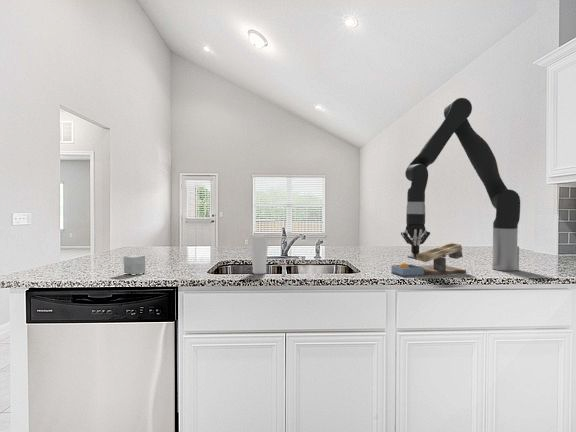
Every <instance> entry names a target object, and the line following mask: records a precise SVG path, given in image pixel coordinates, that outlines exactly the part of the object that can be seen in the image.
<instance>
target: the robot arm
mask: <svg viewBox="0 0 576 432" xmlns="http://www.w3.org/2000/svg"><path fill="white" fill-rule="evenodd" d="M472 111H473V106H472V103H471V101H470V100H469V99H468V98H466V97H458V98H456V99H453V100H452V101H450V102H449V103H448V104H447V105H446V106H445V107H444V110H443V116H444V119H443V121H442V123H441V124H440V126H439V127H437V129H436V130H435V132H434V133H433V134H432V135H431V136H430V137H429V139H428V140H427V141H426V142H425V144H424V145H423V146H422V149H421V150H420V152H419V153H418V154H417V155H416V156H415V158H414V159H412V161H411V162H410V163H409V165H408V166H407V168H406V170H405V173H404V175H405V178H406V180H407V181H409V182H410V183H411V184H410V187H409V188H408V189H407V192H406V193H407V197H406V198H407V200H406V201H407V202H406V219H405V220H406V222H405V223H406V227H405V230H403V231H401V232H400V235H401V236H402V238H403V239H404V241H405V243H406V244H408V245H411V246H410V247H411V248H410V249H411V252H410V253H412V254H414V255H416V254H418V253H420V245H424V243H426V241H427V239H428V238H429V236H430V235H431V232H430V231H428V230H427V229H426V226H425V225H426V189H427V186H428V185H427V184H428V180H429V170H428V167H429V166H430V165H433V164H434V162H435V161H436V160H437V158H439V156H440V154H441V152H442V151H443V149H444V148H445V146H446V145H447V144H448V142H449V140H450V139H451V137H452V136H453V134H455V135H456V137H457V139H458V140H459V143H460V145H461V147H462V149H463V150H464V152H465V155H466V156H467V158H468V160H469V162H470V164H471V166H472V167H473V169H474V170H475V173H476V174H477V176H478V177H479V179H480V180H481V182H482V184H483V186H484V187H485V191H486V192H487V195H488V197H489V200H490V203H491V205H492V206H493V208H494V210H495V209H496V210H495V211H496V212H495V219H494V220H493V222H492V223H493V224H492V269H493V270H497V271H504V272H505V271H506V272H508V271H510V272H513V271H518V270H520V247H519V246H518V234H519V233H518V229H519V227H518V226H519V223H520V220H521V219H520V216H521V198H520V195H519V193H518V192H517V191H515V190H513V189H508V187H507V186H506V185H505V182H504V181H503V179H502V178H501V175H500V172H499V171H500V170H499V165H498V163H497V159H496V156H495V154H494V153H493V151H492V148H491V147H490V145H489V143H488V142H487V141H486V140H485V139H484V138H483V137H482V136H480V135H479V133H477V132H476V131H475V130H474V128H473V127H472V125H471V123H470V121H469V119H468V118H469V117H470V115H471V114H472Z"/></svg>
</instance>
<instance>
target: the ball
mask: <svg viewBox="0 0 576 432" xmlns="http://www.w3.org/2000/svg"><path fill="white" fill-rule="evenodd" d="M398 265H399V267H401V268H409V266H408V263H406V262H401V263H400V264H398Z"/></svg>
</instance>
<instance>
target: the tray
mask: <svg viewBox="0 0 576 432" xmlns="http://www.w3.org/2000/svg"><path fill="white" fill-rule="evenodd" d="M407 264H408V263H407ZM399 265H400V264H391V273H392V274H394V275H397V276H400V277H416V276H417V277H419V276H418V275H421V276H425V275H424V268H423V267H420V266H421V265H415V264H411V263H410V264H408V266H409V268H401V267H399Z"/></svg>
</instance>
